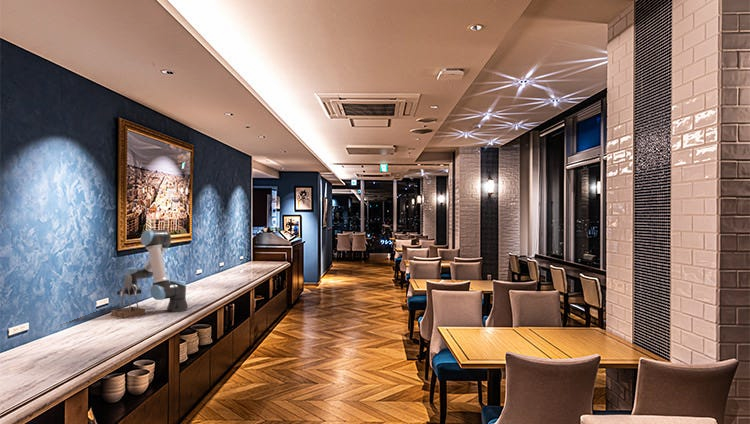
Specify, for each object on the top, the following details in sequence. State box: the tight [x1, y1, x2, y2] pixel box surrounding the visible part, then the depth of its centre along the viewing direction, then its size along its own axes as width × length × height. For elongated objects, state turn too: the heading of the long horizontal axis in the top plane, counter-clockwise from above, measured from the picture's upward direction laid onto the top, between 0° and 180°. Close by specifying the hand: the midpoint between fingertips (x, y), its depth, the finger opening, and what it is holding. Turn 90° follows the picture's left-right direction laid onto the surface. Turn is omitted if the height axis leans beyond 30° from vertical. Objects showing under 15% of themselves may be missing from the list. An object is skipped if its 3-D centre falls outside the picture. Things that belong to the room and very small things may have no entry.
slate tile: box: [138, 304, 155, 311], centre depth 372 cm, size 14×14×1 cm
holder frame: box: [110, 306, 146, 319], centre depth 350 cm, size 16×17×4 cm
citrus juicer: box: [120, 274, 139, 312], centre depth 349 cm, size 11×10×30 cm
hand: (128, 294), depth 346 cm, fingers closed on citrus juicer, 9 cm apart
